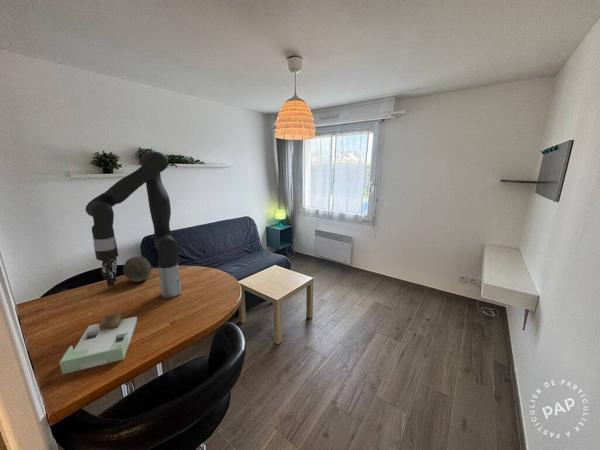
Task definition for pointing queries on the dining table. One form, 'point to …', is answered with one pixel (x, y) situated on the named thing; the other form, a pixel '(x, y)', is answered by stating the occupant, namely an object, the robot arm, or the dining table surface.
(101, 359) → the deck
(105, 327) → the block
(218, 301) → the dining table surface
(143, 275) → the cantaloupe
